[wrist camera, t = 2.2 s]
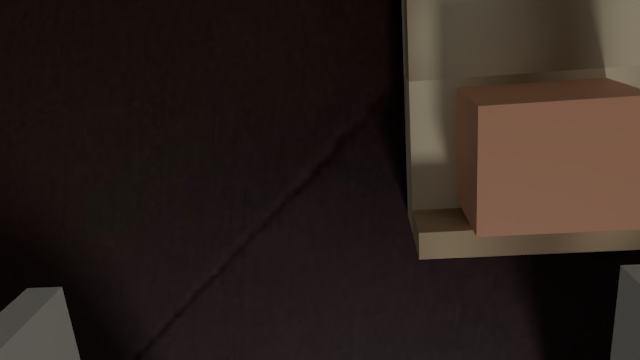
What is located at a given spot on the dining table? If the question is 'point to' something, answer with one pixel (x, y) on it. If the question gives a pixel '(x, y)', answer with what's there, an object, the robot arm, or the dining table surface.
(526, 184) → the block
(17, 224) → the dining table surface
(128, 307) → the dining table surface
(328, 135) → the dining table surface
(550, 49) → the beige shallow tray
